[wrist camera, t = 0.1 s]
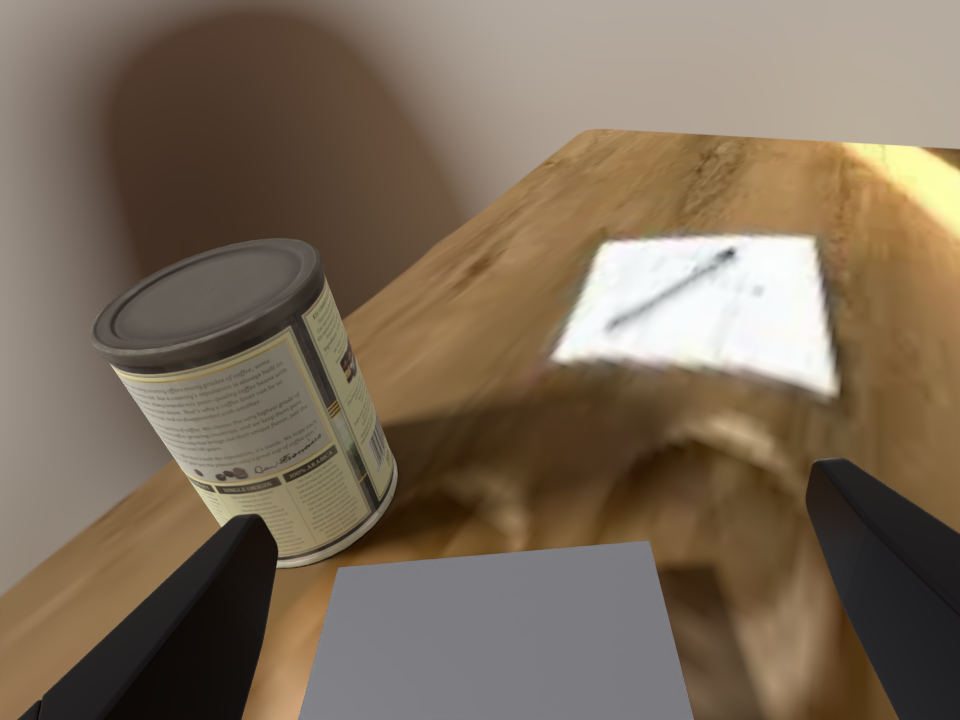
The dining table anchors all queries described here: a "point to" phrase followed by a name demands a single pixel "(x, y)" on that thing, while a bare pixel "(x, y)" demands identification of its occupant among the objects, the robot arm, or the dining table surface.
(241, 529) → the robot arm
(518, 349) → the dining table surface
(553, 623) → the book
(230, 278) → the coffee can
